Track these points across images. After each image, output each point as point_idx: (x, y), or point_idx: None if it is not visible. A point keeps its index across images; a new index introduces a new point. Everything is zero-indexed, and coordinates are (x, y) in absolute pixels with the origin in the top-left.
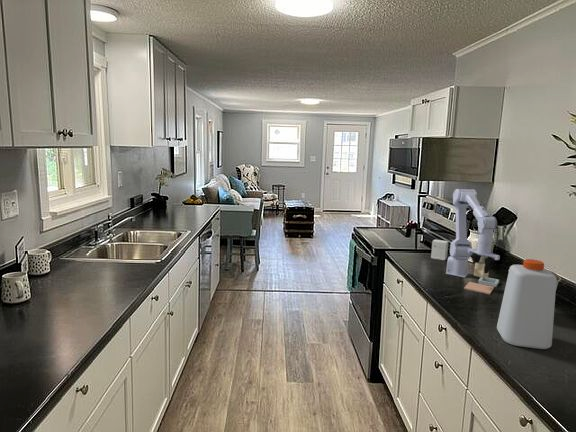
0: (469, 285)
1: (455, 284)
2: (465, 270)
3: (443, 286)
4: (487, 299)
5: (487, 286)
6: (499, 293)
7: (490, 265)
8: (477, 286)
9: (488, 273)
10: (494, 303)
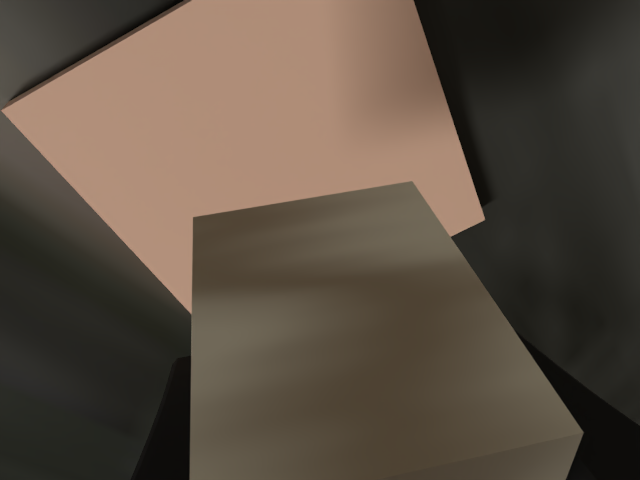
0: (175, 243)
1: (49, 326)
2: None
3: (92, 453)
4: (523, 321)
5: (308, 8)
6: (537, 51)
7: (632, 457)
8: (245, 169)
9: (439, 223)
10: (599, 330)
